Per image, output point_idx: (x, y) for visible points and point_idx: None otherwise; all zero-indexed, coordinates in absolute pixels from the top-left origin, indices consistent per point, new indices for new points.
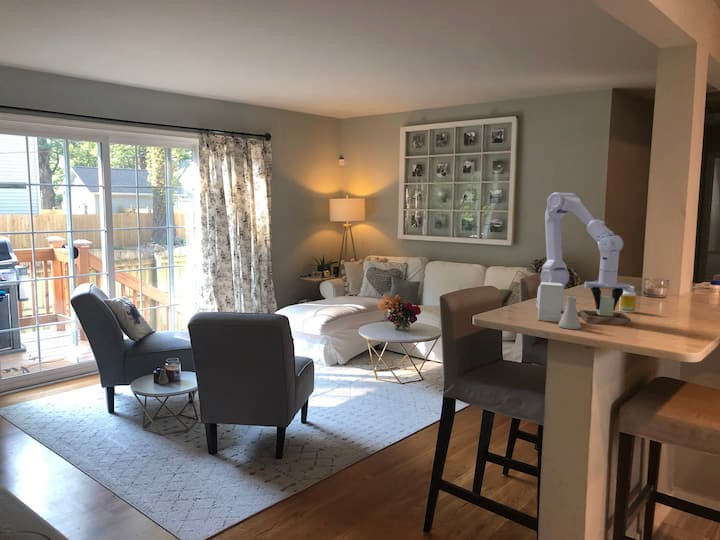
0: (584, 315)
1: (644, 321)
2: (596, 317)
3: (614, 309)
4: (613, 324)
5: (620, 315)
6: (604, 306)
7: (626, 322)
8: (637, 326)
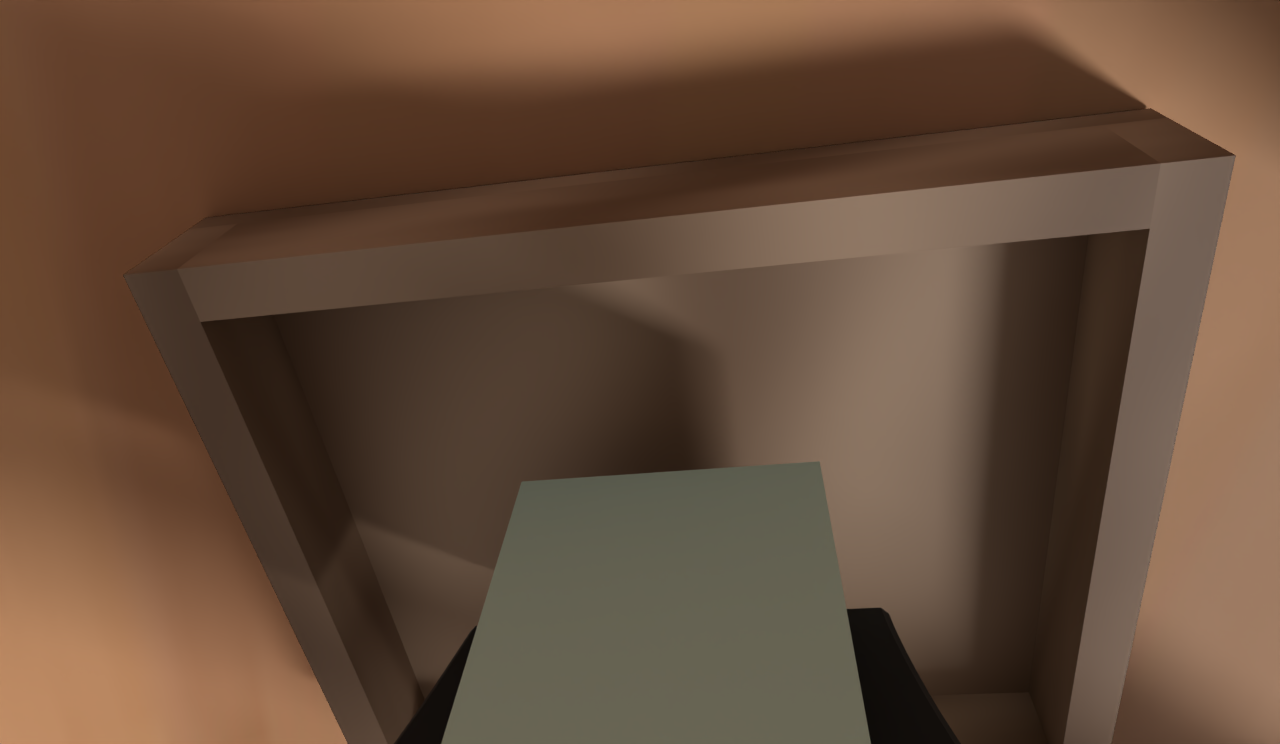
0: (1160, 427)
1: (84, 666)
2: (955, 185)
3: (467, 638)
4: (533, 180)
5: (397, 713)
6: (724, 635)
7: (251, 235)
8: (82, 238)
